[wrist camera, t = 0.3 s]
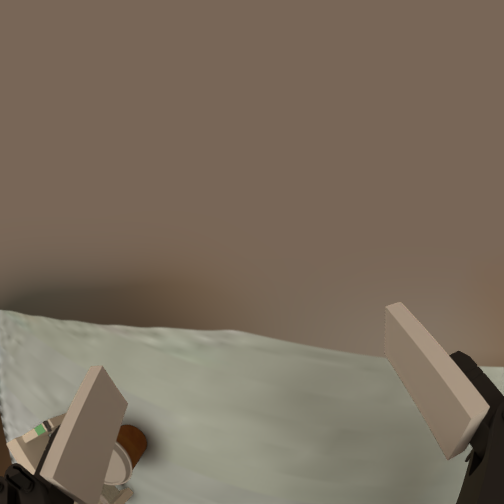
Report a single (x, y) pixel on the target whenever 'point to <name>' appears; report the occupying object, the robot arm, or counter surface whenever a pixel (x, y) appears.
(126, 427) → the disposable coffee cup
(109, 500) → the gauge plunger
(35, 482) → the robot arm
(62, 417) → the frame
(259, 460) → the counter surface
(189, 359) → the counter surface
